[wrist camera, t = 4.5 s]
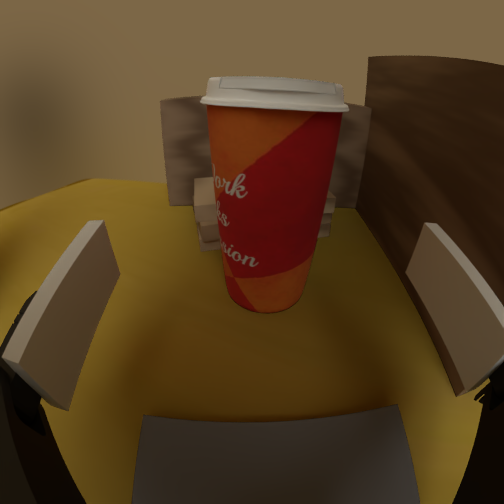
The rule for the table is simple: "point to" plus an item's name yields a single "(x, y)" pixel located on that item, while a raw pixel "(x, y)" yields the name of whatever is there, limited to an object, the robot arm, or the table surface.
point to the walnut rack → (398, 163)
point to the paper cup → (271, 180)
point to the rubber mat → (276, 461)
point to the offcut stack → (209, 223)
